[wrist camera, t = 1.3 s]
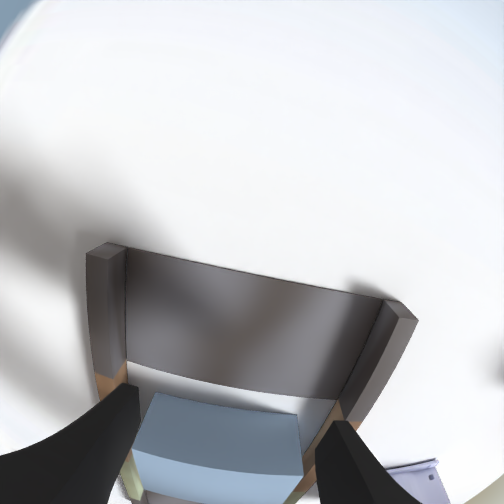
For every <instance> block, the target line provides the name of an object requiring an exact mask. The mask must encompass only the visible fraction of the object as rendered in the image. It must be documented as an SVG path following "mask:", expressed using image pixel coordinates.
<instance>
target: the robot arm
mask: <svg viewBox="0 0 504 504" xmlns="http://www.w3.org/2000/svg"><path fill="white" fill-rule="evenodd" d="M140 421H141V417H140V405H139V392H138V387H136V386H132V385H129V384H126V383H121V384H119V385H118V386H117V387H116V388H115V389H114V390H113V391H112V392H111V393H109V394H108V395H107V396H106V397H105V398H104V399H103V400H101V401H100V402H99V403H98V404H97V405H95V406H94V407H93V408H91V409H90V410H89V411H88V412H86V413H85V414H84V415H82V416H81V417H80V418H78V419H77V420H75V421H74V422H72V423H71V424H70V425H68V426H67V427H65V428H64V429H62V430H60V431H59V432H57V433H55V434H53V435H52V436H50V437H48V438H46V439H44V440H42V441H40V442H38V443H35V444H33V445H31V446H29V447H26V448H23V449H21V450H18V451H15V452H11V453H8V454H4V455H1V456H0V504H107V503H108V500H109V496H110V493H111V490H112V488H113V485H114V483H115V481H116V479H117V476H118V474H119V472H120V470H121V468H122V466H123V464H124V462H125V460H126V457H127V455H128V453H129V451H130V449H131V447H132V445H133V442H134V440H135V437H136V434H137V431H138V428H139V424H140ZM438 463H439V461H438V460H434V461H430V462H426V463H422V464H417V465H412V466H407V467H402V468H396V469H390V470H385V469H384V468H383V466H382V465H381V464H380V463H379V462H378V460H377V459H376V458H375V457H374V455H373V454H372V453H371V451H370V450H369V449H368V447H367V446H366V445H365V443H364V442H363V441H362V439H361V438H360V437H359V435H358V434H357V432H356V431H355V430H354V428H353V427H352V425H351V424H350V423H349V421H345V420H333V422H332V424H331V425H330V427H329V428H328V430H327V431H326V433H325V435H324V436H323V438H322V439H321V441H320V442H319V444H318V445H317V447H316V448H315V472H316V479H317V485H318V491H319V497H320V503H321V504H450V500H449V498H448V495H447V493H446V491H445V488H444V486H443V484H442V481H441V479H440V477H439V475H438V472H437V470H436V468H435V466H436V465H437V464H438Z"/></svg>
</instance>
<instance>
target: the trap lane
mask: <svg viewBox="0 0 504 504" xmlns="http://www.w3.org/2000/svg"><path fill="white" fill-rule="evenodd" d="M126 260H127V247H125V246H120V245H116V244H112V243H108V242H107V243H105V244H103V245H101V246H99V247H97V248H95V249H93V250H92V251H90V252H88V253H86V291H87V310H88V323H89V333H90V342H91V351H92V358H93V365H94V371H95V377H96V383H97V388H98V393H99V398H100V401H101V400H103V399H104V398H105V397H106V396H107V395H108V394H109V393H111V392H112V391H113V390H114V389H115V388H116V387H117V386H118V385H119V384H121V383H126V384H128V378H127V364H126V347H127V361H130V362H133V363H136V364H140V365H143V366H146V367H150V368H153V369H156V370H160V371H164V372H167V373H171V374H175V375H179V376H183V377H187V378H191V379H195V380H199V381H204V382H209V383H213V384H218V385H223V386H228V387H234V388H239V389H245V390H251V391H257V392H264V393H271V394H279V395H287V396H296V397H307V398H319V399H334V400H337V398H338V397H339V398H338V400H337V401H336V403H335V405H334V407H333V409H332V410H331V412H330V414H329V415H328V417H327V419H326V421H325V422H324V424H323V426H322V427H321V429H320V431H319V432H318V434H317V435H316V437H315V439H314V440H313V442H312V443H311V445H310V446H309V448H308V449H307V451H306V452H305V454H304V455H303V457H302V464H303V473H304V476H303V478H302V479H301V480H300V482H299V483H298V484H297V486H296V487H295V488H294V490H293V491H292V492H291V494H290V495H289V496H288V497H287V499H286V500H285V501H284V503H283V504H295V503H296V502H297V501H298V500H299V499H300V498H301V497H302V496H303V495H304V494H305V493H306V492H307V491H308V490H309V489H310V488H311V486H312V485H313V484H314V483H315V482H316V481H317V479H316V472H315V448H316V447H317V445H318V444H319V442H320V441H321V439H322V438H323V436H324V435H325V433H326V431H327V430H328V428H329V427H330V425H331V424H332V422H333V420H345V421H349V423H350V424H351V425H352V427H353V428H354V430H355V431H356V430H357V429H358V428H359V426H360V425H361V423H362V422H363V420H364V419H365V417H366V416H367V414H368V413H369V411H370V410H371V408H372V407H373V405H374V403H375V402H376V400H377V399H378V397H379V395H380V394H381V392H382V390H383V389H384V387H385V385H386V384H387V382H388V380H389V378H390V377H391V375H392V373H393V371H394V369H395V368H396V366H397V364H398V362H399V360H400V358H401V356H402V354H403V352H404V350H405V348H406V346H407V344H408V342H409V340H410V338H411V336H412V334H413V332H414V330H415V327H416V325H417V323H418V321H419V320H418V319H417V318H416V317H415V316H414V315H413V314H412V313H411V312H410V310H409V309H408V308H407V307H406V306H405V305H404V304H403V303H402V302H396V301H390V300H385V299H384V300H383V302H382V299H379V298H373V297H368V296H362V295H357V294H351V293H346V292H340V291H335V290H329V289H324V288H319V287H314V286H308V285H303V284H298V283H293V282H288V281H283V280H278V279H273V278H268V277H263V276H258V275H253V274H248V273H243V272H238V271H234V270H229V269H224V268H219V267H215V266H210V265H205V264H201V263H196V262H191V261H187V260H182V259H178V258H173V257H169V256H164V255H160V254H155V253H151V252H146V251H142V250H138V249H133V248H128V260H127V280H126ZM125 282H126V342H125ZM381 303H382V305H381ZM380 306H381V307H380ZM379 308H380V310H379ZM378 311H379V312H378ZM377 313H378V315H377ZM376 316H377V317H376ZM375 318H376V320H375ZM374 321H375V322H374ZM373 323H374V325H373ZM372 326H373V327H372ZM371 328H372V329H371ZM370 330H371V332H370ZM369 333H370V334H369ZM368 335H369V336H368ZM367 337H368V339H367ZM366 339H367V341H366ZM365 342H366V343H365ZM364 344H365V345H364ZM363 346H364V348H363ZM362 348H363V350H362ZM361 351H362V352H361ZM360 353H361V354H360ZM359 355H360V356H359ZM358 357H359V358H358ZM357 359H358V360H357ZM356 361H357V363H356ZM355 363H356V365H355ZM354 365H355V367H354ZM353 367H354V369H353ZM352 370H353V371H352ZM351 372H352V373H351ZM350 374H351V375H350ZM349 376H350V377H349ZM348 378H349V379H348ZM347 379H348V381H347ZM346 381H347V383H346ZM345 383H346V385H345ZM344 385H345V386H344ZM343 387H344V388H343ZM342 389H343V390H342ZM341 391H342V392H341ZM340 393H341V394H340ZM339 395H340V396H339ZM134 441H135V440H134ZM133 443H134V442H133ZM132 446H133V445H132ZM131 448H132V447H131ZM120 474H121V477H122V480H123V482H124V485H125V488H126V490H127V493H128V495H129V498H130V500H131V503H132V504H148V503H149V504H204V503H199V502H193V501H188V500H183V499H179V498H175V497H170V496H166V495H162V494H159V493H155V492H151V491H148V490H145V489H143V486H142V483H141V480H140V476H139V473H138V470H137V467H136V463H135V460H134V456H133V453H132V449H130V451H129V453H128V455H127V457H126V460H125V462H124V464H123V466H122V468H121V470H120ZM145 491H146V492H145ZM146 495H147V496H146ZM147 499H148V500H147Z"/></svg>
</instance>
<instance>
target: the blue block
mask: <svg viewBox="0 0 504 504" xmlns="http://www.w3.org/2000/svg"><path fill="white" fill-rule="evenodd" d="M131 449H132V453H133V456H134V460H135V463H136V467H137V470H138V473H139V476H140V480H141V483H142V486H143V489H145V490H148V491H151V492H155V493H159V494H162V495H166V496H170V497H175V498H179V499H183V500H188V501H193V502H199V503H204V504H283V503H284V501H285V500H286V499H287V497H288V496H289V495H290V494H291V492H292V491H293V490H294V488H295V487H296V486H297V484H298V483H299V482H300V480H301V479H302V478H303V476H304V473H303V464H302V454H301V446H300V437H299V429H298V420H297V415H293V414H280V413H269V412H260V411H251V410H244V409H237V408H230V407H224V406H218V405H212V404H207V403H202V402H197V401H192V400H187V399H183V398H178V397H174V396H170V395H166V394H162V393H158V392H155V394H154V396H153V399H152V401H151V403H150V406H149V408H148V410H147V413H146V415H145V417H144V420H143V422H142V424H141V427H140V429H139V431H138V434H137V436H136V438H135V441H134V443H133V446H132V448H131Z"/></svg>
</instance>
